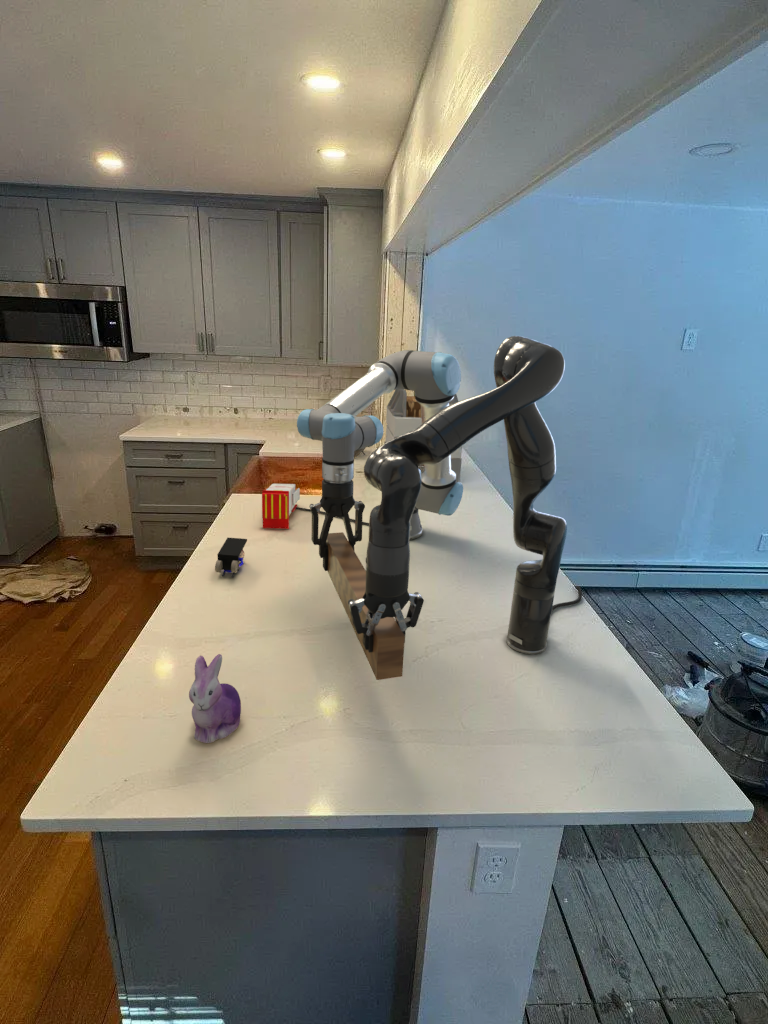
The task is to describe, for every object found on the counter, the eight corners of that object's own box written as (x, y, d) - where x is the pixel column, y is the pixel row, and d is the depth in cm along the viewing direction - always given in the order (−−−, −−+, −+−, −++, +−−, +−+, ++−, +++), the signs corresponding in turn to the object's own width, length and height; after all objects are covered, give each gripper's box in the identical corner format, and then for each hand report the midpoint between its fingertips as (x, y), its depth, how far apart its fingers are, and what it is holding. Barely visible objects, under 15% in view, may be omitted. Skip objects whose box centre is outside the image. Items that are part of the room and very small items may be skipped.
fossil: (346, 441, 313) (367, 426, 308) (356, 454, 316) (378, 440, 311) (339, 455, 293) (362, 439, 288) (351, 469, 296) (373, 453, 291)
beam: (324, 563, 146) (324, 533, 144) (342, 562, 148) (343, 532, 145) (376, 680, 101) (378, 639, 98) (402, 676, 103) (404, 636, 100)
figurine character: (238, 584, 162) (249, 557, 175) (236, 562, 158) (247, 536, 172) (215, 584, 161) (227, 556, 175) (212, 561, 158) (225, 535, 171)
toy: (301, 479, 224) (291, 492, 194) (301, 512, 226) (291, 530, 197) (270, 478, 223) (256, 491, 194) (271, 511, 226) (256, 529, 197)
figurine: (196, 753, 99) (190, 681, 94) (186, 717, 107) (180, 649, 102) (250, 737, 103) (246, 667, 98) (236, 703, 112) (232, 637, 107)
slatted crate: (382, 463, 289) (386, 382, 275) (445, 464, 293) (451, 384, 279) (390, 482, 257) (394, 392, 243) (460, 483, 261) (468, 394, 247)
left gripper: (303, 485, 129) (303, 577, 137) (378, 482, 135) (374, 570, 143) (297, 476, 136) (298, 564, 144) (369, 473, 141) (366, 558, 149)
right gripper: (352, 577, 93) (350, 665, 99) (434, 569, 97) (427, 654, 103) (342, 558, 100) (341, 642, 106) (419, 552, 104) (413, 632, 110)
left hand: (336, 567), depth 143 cm, fingers closed on beam, 5 cm apart
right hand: (383, 647), depth 104 cm, fingers closed on beam, 5 cm apart
